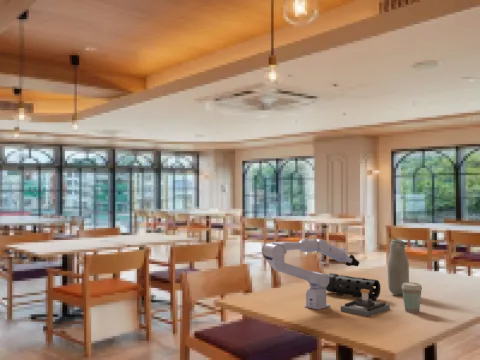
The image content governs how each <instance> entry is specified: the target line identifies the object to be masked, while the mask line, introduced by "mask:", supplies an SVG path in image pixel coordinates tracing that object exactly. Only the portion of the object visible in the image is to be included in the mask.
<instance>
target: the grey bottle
mask: <svg viewBox="0 0 480 360" xmlns="http://www.w3.org/2000/svg"><path fill="white" fill-rule="evenodd" d="M386 265H387V267H386V268H387V286H388V290H389V292H390V293H391V294H392V295H395V296H403V291H402V285H403V283H406V282H410V265H409V259H408V256H407V252H406V244H405V242H404V240H401V239H393V240H391V241H390V242H389V254H388V257H387V263H386Z"/></svg>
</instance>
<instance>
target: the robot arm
mask: <svg viewBox="0 0 480 360" xmlns="http://www.w3.org/2000/svg"><path fill="white" fill-rule="evenodd" d="M291 250H300V252H301V253H313V252H319V253H321V254H323V255H325V256H326V257H329V258H331V259H333V260H335V261H336V262H338V263H345V264H344V265H345V266H347V267H352V266H353V267H359V265H360V261H359V260H358V259H356V258H355V256H354V254H352V253H351V254H350V255H348V253H347V252H346V248H345V247H341V248H340V247H337V246H336V245H333V244H331V243H328V241H327V240H325V239H322V238H321V239H320V238H314V237H313V238H308V237H304V238H301V239H300V240H299V241H273V242H267V243H264V244H263V245H262V247H261V255H262V257H263V259H264V260H266V261H267V263H269V265H270V266H271V269H273V270H274V271H275V272H281V273H283V274H286V275H289V276H291V277H295V278H297V279H301V280H304V281H306V282H307V283H308V284H309V286H310V287H309V289H307V290H306V292H305V305H304V308H310V309H314V310H322V309H325V308H328V307H330V306H331V304H328V303H327V290H326V288H327V286H328V284H329V276H328V275H327V274H328V273H321V272H318V271H315V270H311V271H310V270H307V269H306V268H302V267H299V266H295V265H293V264H290V263H288V262H285V255H286V254H287V251H291Z"/></svg>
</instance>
